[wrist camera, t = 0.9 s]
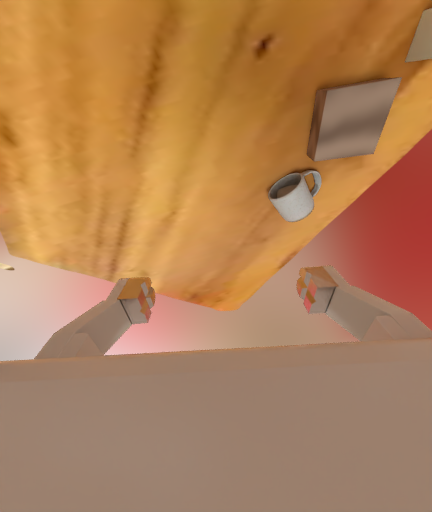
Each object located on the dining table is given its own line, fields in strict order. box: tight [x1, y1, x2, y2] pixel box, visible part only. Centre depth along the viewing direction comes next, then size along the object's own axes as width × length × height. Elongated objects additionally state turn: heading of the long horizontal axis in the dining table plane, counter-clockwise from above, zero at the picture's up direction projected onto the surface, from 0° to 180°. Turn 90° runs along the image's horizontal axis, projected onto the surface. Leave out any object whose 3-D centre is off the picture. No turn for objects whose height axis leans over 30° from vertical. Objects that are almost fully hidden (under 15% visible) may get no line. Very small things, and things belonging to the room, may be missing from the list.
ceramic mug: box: [268, 170, 321, 222], centre depth 40 cm, size 11×8×8 cm
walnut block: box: [307, 77, 402, 161], centre depth 33 cm, size 10×10×5 cm
